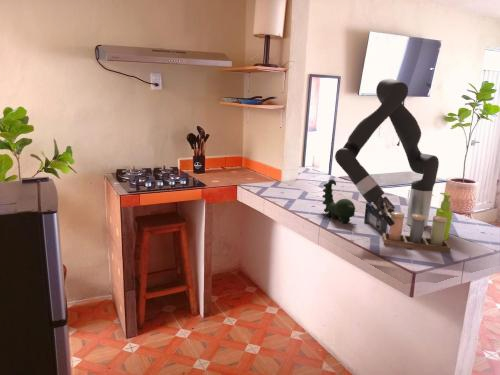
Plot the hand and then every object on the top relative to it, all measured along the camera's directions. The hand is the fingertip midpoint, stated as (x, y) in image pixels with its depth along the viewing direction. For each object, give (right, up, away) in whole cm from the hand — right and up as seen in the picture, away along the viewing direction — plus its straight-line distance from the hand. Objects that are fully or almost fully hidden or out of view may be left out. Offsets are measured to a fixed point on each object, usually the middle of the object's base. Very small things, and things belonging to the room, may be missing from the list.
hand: (395, 222), depth 150 cm
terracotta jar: (0, -8, +2) cm, 8 cm away
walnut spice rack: (+7, -10, 0) cm, 13 cm away
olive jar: (+15, -9, -2) cm, 18 cm away
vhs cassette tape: (-2, -5, +21) cm, 21 cm away
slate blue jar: (+8, -9, 0) cm, 12 cm away
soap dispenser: (+23, -9, +11) cm, 26 cm away
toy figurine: (-15, -1, +34) cm, 38 cm away
